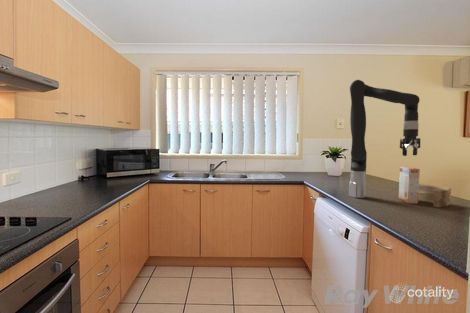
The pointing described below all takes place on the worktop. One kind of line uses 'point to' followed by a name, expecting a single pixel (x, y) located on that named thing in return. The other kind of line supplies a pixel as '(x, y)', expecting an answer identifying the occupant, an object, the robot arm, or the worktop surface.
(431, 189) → the book rack
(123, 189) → the worktop surface
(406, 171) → the cracker box
